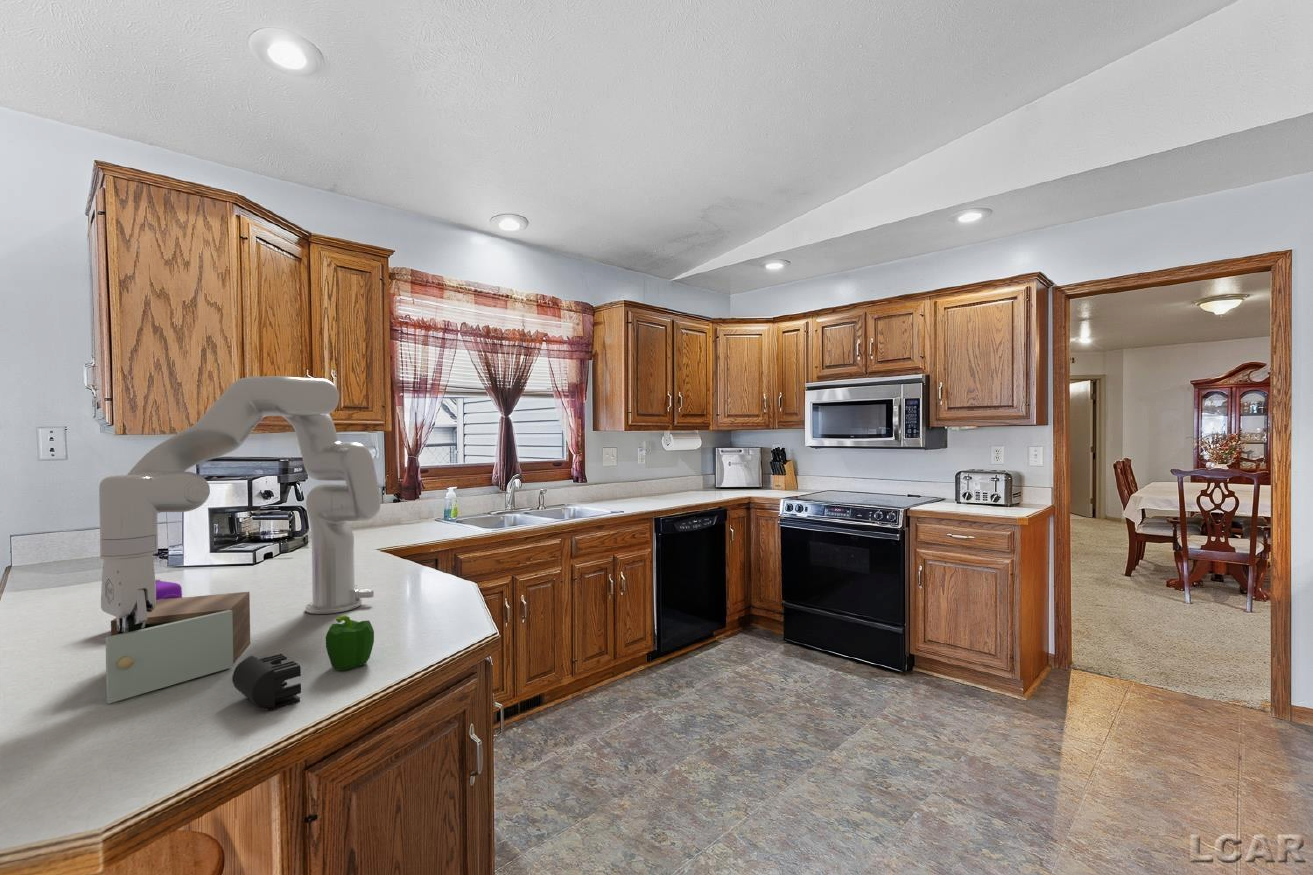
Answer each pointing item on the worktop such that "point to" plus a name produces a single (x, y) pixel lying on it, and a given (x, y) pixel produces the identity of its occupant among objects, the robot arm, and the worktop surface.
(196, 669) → the door
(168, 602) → the cabinet
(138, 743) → the worktop surface
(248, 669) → the end cap
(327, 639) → the bell pepper
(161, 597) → the toy camera
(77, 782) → the worktop surface
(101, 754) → the worktop surface
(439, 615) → the worktop surface
